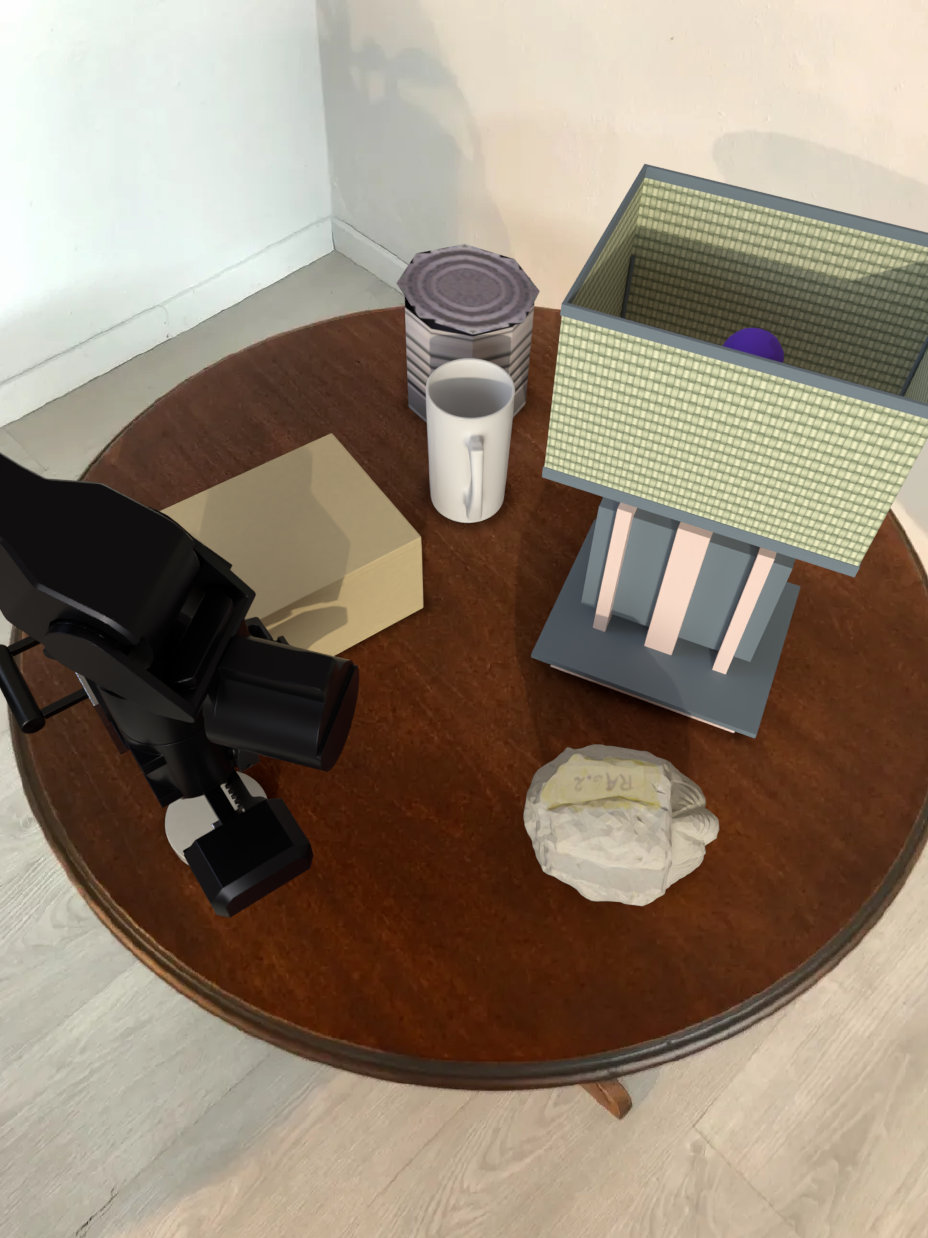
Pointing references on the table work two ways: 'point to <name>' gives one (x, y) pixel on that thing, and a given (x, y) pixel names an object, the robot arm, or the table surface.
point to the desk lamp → (727, 430)
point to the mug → (469, 437)
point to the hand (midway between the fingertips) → (219, 819)
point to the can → (466, 316)
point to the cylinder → (198, 817)
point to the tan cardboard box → (312, 546)
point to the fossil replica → (617, 823)
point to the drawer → (31, 718)
